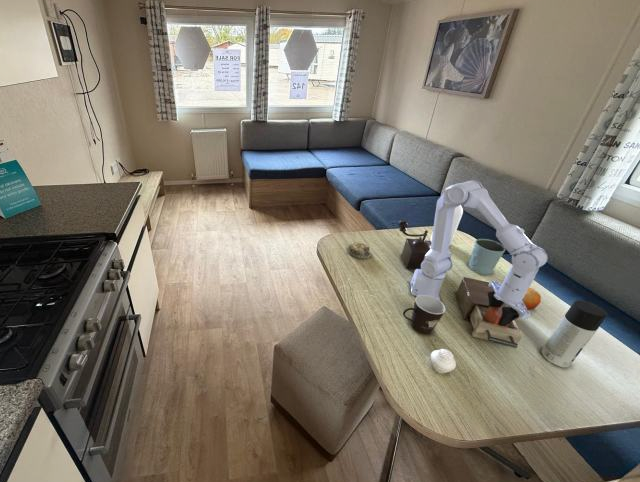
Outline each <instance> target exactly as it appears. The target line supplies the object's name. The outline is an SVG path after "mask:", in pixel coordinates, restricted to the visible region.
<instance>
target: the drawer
mask: <svg viewBox="0 0 640 482" xmlns="http://www.w3.org/2000/svg"><path fill="white" fill-rule="evenodd" d="M487 310H488V308H486V307H482V306H478V305H474V306H473V308H472V310H471V312H470V314H469V316H470V319H471V321H470V322H471V325H472V328H473V331H472V337H474V338H476V339H477V338H478V339H481V340H486V341H488V342H491V343H494V344H499V345H502V346H507V347H509V348H510V347H511V348H514V349H517V348H518V344H519V343H520V342H521V340H522V339H523V337H524V336H525V332H524V331H522V330H519V326H518V325H517V323H516V320H513V321H512V322H511V323H510V324H509V325H508V327H503V326H499V325H495V324H491V323H489V322H488V321H487V320H486V319H485V317H484V316H485V314H486V312H487Z"/></svg>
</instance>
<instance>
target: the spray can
mask: <svg viewBox="0 0 640 482" xmlns="http://www.w3.org/2000/svg"><path fill="white" fill-rule="evenodd" d="M607 317H608V313H607V312H606V310H605V309H603V308H602V307H601V306H599V305H597V304H595V303H591V302H589V301H585V300H581V299H577V300H574V301H573V302H572V304H571V305H570V307H569V308H568V310H567V311H566V313H565V314H564V315H563V317H562V318H561V320H560V322H559V323H558V324H557V326H556V327H555V329H554V330H553V332H552V334H551V335H550V337H549V338H548V339H547V341H546V343H545V344H544V346H543V347H542V349H541V354H542V356H543V358H544V359H545V360H546V361H547V362H549V363H551V364H553V365H554V366H557V367H561V368H568V367H570V366H571V365H572V364H573V363H574V361H575V360H576V359H577V357H578V356H579V354H581V352H582V351H583V349H584V348H585V346H586V345H587V344H588V343H589V341H591V339H592V337H594V335H595V334H596V332H597V331H598V330H599V328H600V327H601V325H602V324H603V323H604V321H605V320H606V318H607Z"/></svg>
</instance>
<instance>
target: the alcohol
mask: <svg viewBox="0 0 640 482" xmlns="http://www.w3.org/2000/svg"><path fill="white" fill-rule="evenodd" d="M460 183H461V182H459V183H457V184H460ZM463 214H464V209H463V206H462V204H461V205H459V206H457V207H456V208H455V212H454V218H453V224H452V231H451V237H450V243H449V247H450V246H451V245H452V243H453V240H454V237H455V234H456V232H457V230H458V227H459V224H460V222H461V220H462V217H463ZM432 235H433V232H431V236H430V241H431V242H432Z"/></svg>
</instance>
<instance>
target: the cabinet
mask: <svg viewBox="0 0 640 482" xmlns="http://www.w3.org/2000/svg"><path fill="white" fill-rule="evenodd" d="M489 283H490V281H486V280H485V281H484V280H480V279H476V278H471V277H466V276H463V277H462V279H461V281H460V283H459V286H458V287H457V291H456V296H457V299H458V303H459V306H460V309H461V312H462V316H463V320H466V321H470V322H471V319H470V316H469V314H470V312H471V310H472V308H473V306H474V305H478V306H482V307H486V308H489V298H488V292H492V291H493V290H494V289H493V288H490V287H489V286H488V285H489ZM501 307H509V308H510V306H509V305H507V304H506V303H503V305H502V306H501Z"/></svg>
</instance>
